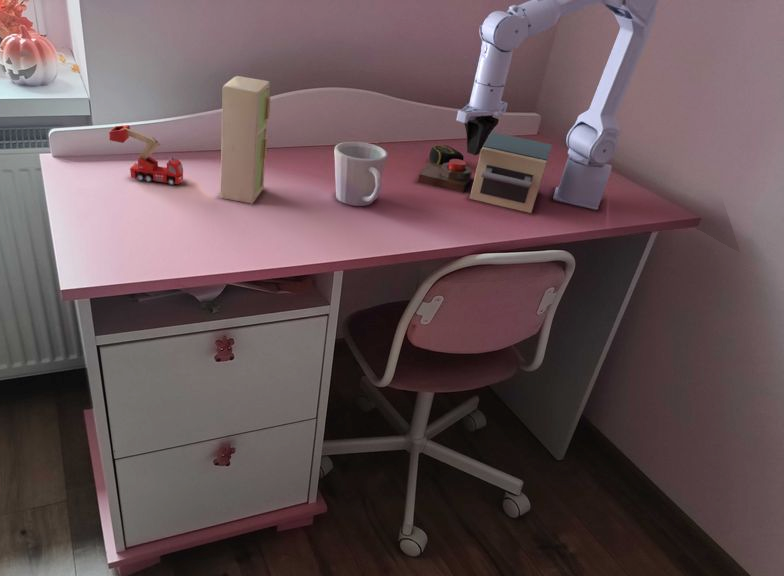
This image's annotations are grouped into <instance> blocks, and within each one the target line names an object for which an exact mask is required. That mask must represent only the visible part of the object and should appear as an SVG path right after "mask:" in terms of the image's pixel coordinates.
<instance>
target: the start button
mask: <svg viewBox="0 0 784 576" xmlns="http://www.w3.org/2000/svg"><path fill="white" fill-rule="evenodd" d="M466 166H467V162H466V161H465V160H464V159H463V160H459V159H451V160H450V162H449V166H448V169H450V170H453V171H459V172H462V171H465V167H466Z"/></svg>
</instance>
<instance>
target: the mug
mask: <svg viewBox="0 0 784 576" xmlns="http://www.w3.org/2000/svg"><path fill="white" fill-rule="evenodd" d="M333 150H334V175H335V177H334V178H335V197H336V199H337V200H338V201H339V202H341V203H343V204H345V205H348V206H354V207H364V206H369V205H371V204H372V203H374V201H375V200H377V198H378V197H379V196H380V193H381V189H382V175H383V172H384V169H385V165H386V163H387V160H388V157H389V156H388V152H387V150H385V149H384V148H382V147H381V146H379V145H376V144H373V143H369V142H363V141H345V142H341V143H338V144H336V145H335V146H334V149H333Z"/></svg>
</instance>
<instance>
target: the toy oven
mask: <svg viewBox="0 0 784 576" xmlns="http://www.w3.org/2000/svg"><path fill="white" fill-rule="evenodd" d="M483 147H486V148H491V149H495V150H500V151H505V152H509V153H514V154H518V155H523V156H528V157H532V158H537V159H542V160H546V161H547V163H548V160H549V157H550V154H551V151H552V147H553V144H551V143H546V142H543V141H542V142H541V141H537V140H534V139H533V140H532V139H527V138H523V137H517V136H513V135H508V134H504V133H499V132H494V131H491V133H490V134H489V136H488V137H487V139H486V141H485V143H484V145H483ZM483 147H482V148H483ZM547 163H546V166H545V168H546V167H547ZM544 173H545V172H544ZM544 173H543V176H542V179H541V181H542V180H543V177H544ZM541 183H542V182H541ZM541 183H540V186H541ZM540 186H539V189H538V191H539V190H540ZM537 197H538V195H537V196H536V199H537ZM536 199H535V202H534V204H535V203H536Z"/></svg>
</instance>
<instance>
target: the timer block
mask: <svg viewBox="0 0 784 576" xmlns="http://www.w3.org/2000/svg"><path fill="white" fill-rule="evenodd" d="M448 166H449V162H448V163H443V164H442V165H440V164H435V163H432V162H431V161H429V162H428V163H427V164H426V165H425V166H424V168H423V169H422V171H421V172H420V173H419V175H418V180H417V182H418V183H421V184H425V185H429V186H433V187H437V188H440V189H446V190H451V191H455V192H458V193H464V192H465V190H466V188H467V186H468V184H469V183H470V181H471V178H472V174H473V173H472V172H473V169H472V168H471V167H470V166H468V165H466V167H465V171H462V172H459V171H453V170H450V169H448Z"/></svg>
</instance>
